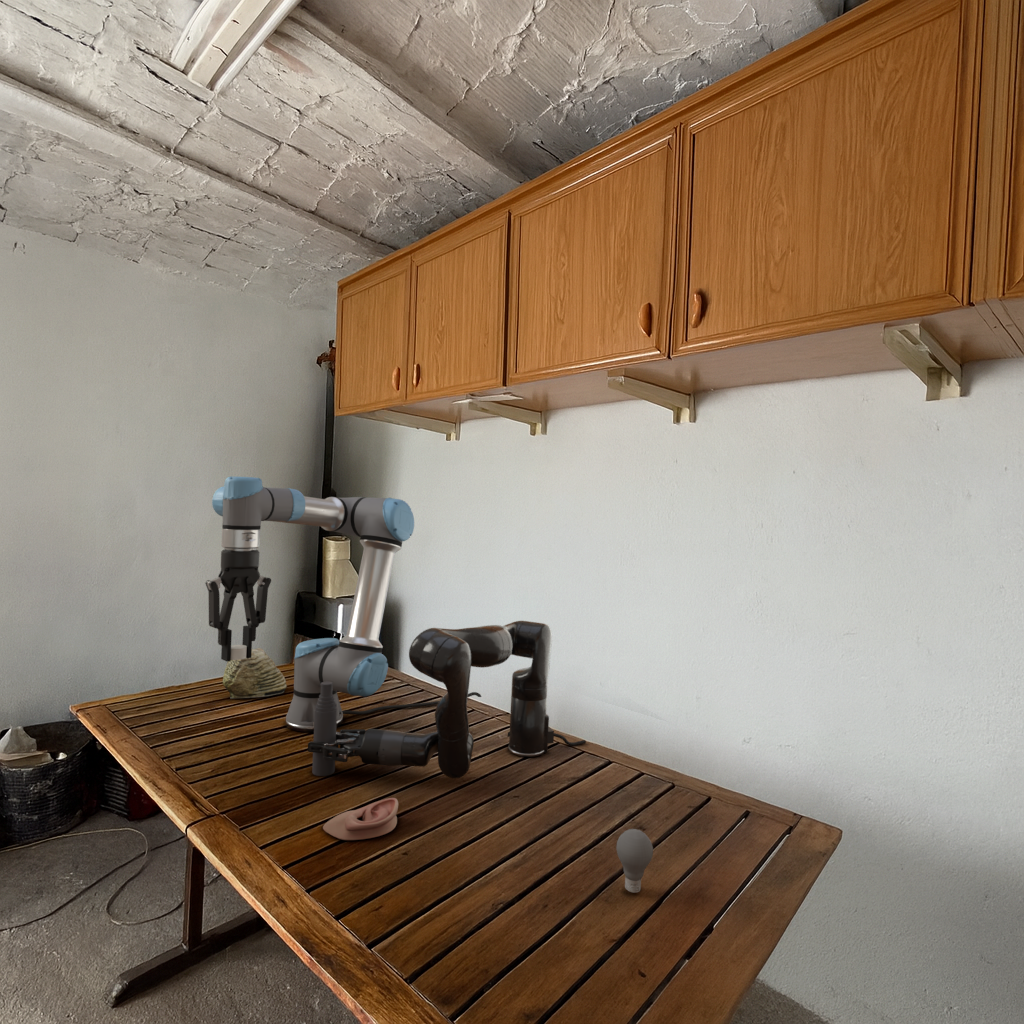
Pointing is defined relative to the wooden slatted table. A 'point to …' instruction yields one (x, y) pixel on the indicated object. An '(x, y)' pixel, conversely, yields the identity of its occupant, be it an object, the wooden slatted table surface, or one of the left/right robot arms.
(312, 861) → the wooden slatted table surface
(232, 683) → the fossil
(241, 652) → the cap
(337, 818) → the anatomical model
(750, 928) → the wooden slatted table surface
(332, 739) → the bottle
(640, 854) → the light bulb
